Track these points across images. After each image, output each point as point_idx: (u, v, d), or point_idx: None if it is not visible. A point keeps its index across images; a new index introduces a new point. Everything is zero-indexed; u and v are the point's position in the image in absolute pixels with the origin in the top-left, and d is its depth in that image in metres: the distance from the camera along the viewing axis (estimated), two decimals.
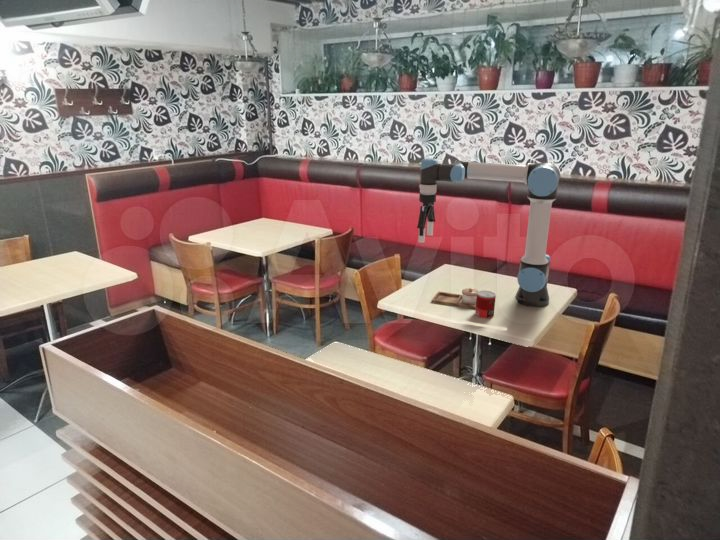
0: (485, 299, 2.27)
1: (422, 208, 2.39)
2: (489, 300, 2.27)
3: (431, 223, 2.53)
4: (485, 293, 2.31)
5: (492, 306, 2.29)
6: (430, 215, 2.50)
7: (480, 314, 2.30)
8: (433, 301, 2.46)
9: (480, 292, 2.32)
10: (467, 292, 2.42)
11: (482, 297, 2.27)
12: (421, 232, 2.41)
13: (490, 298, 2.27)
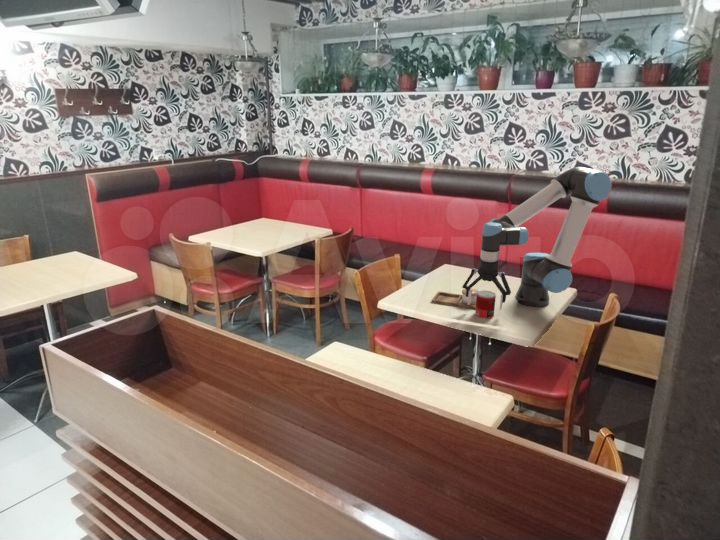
0: (485, 299, 2.27)
1: (472, 269, 2.30)
2: (489, 300, 2.27)
3: None
4: (485, 293, 2.31)
5: (492, 306, 2.29)
6: None
7: (480, 314, 2.30)
8: (433, 301, 2.46)
9: (480, 292, 2.32)
10: None
11: (482, 297, 2.27)
12: None
13: (490, 298, 2.27)
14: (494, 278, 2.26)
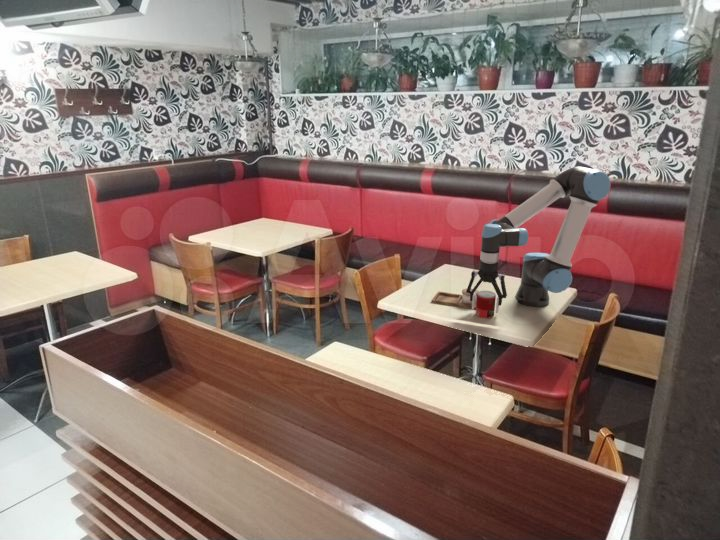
0: (485, 299, 2.27)
1: (472, 273, 2.30)
2: (489, 300, 2.27)
3: None
4: (485, 293, 2.31)
5: (492, 306, 2.29)
6: None
7: (480, 314, 2.30)
8: (433, 301, 2.46)
9: (480, 292, 2.32)
10: None
11: (482, 297, 2.27)
12: None
13: (490, 298, 2.27)
14: (493, 280, 2.26)
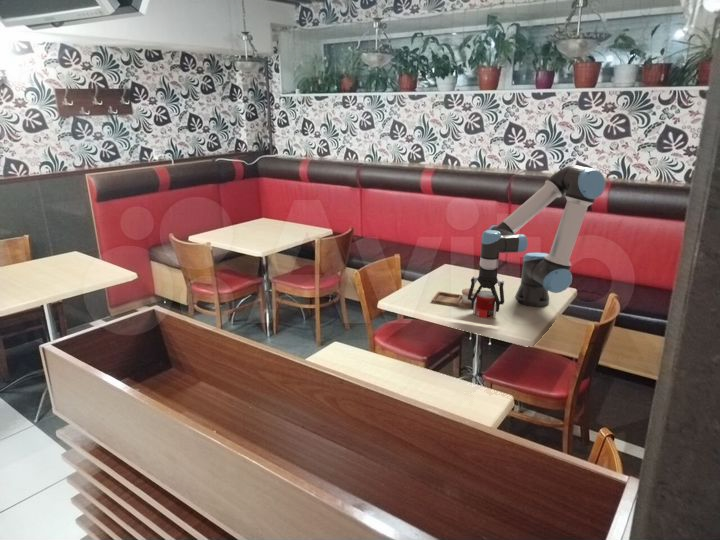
0: (485, 299, 2.27)
1: None
2: (489, 300, 2.27)
3: (494, 305, 2.30)
4: (485, 293, 2.31)
5: (492, 306, 2.29)
6: None
7: (480, 314, 2.30)
8: (433, 301, 2.46)
9: (480, 292, 2.32)
10: (467, 292, 2.42)
11: (482, 297, 2.27)
12: None
13: (490, 298, 2.27)
14: (492, 286, 2.27)
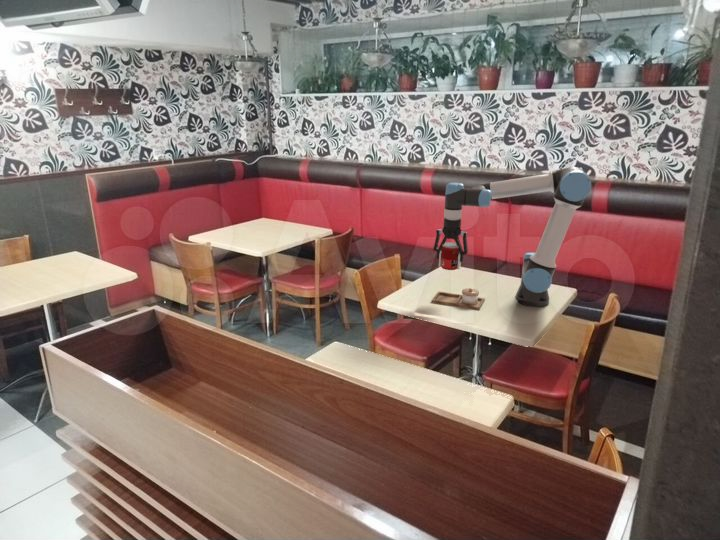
0: (449, 249, 2.38)
1: None
2: (453, 250, 2.38)
3: None
4: (450, 244, 2.42)
5: (456, 256, 2.39)
6: None
7: (445, 264, 2.41)
8: (433, 301, 2.46)
9: (445, 243, 2.43)
10: (467, 292, 2.42)
11: (446, 247, 2.38)
12: None
13: (454, 248, 2.37)
14: (456, 237, 2.38)
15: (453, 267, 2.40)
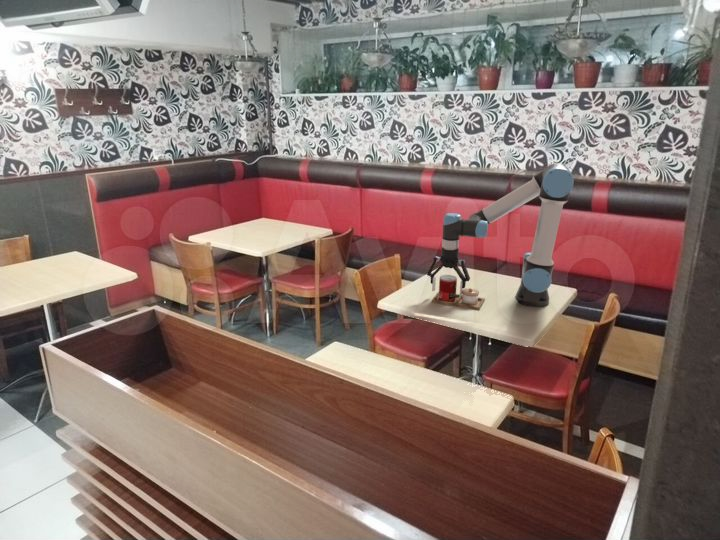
0: (446, 282, 2.43)
1: None
2: (450, 283, 2.43)
3: None
4: (447, 277, 2.47)
5: (453, 289, 2.44)
6: None
7: (443, 297, 2.46)
8: (433, 301, 2.46)
9: (443, 276, 2.48)
10: (467, 292, 2.42)
11: (444, 280, 2.43)
12: None
13: (451, 281, 2.43)
14: (455, 265, 2.42)
15: (450, 300, 2.45)
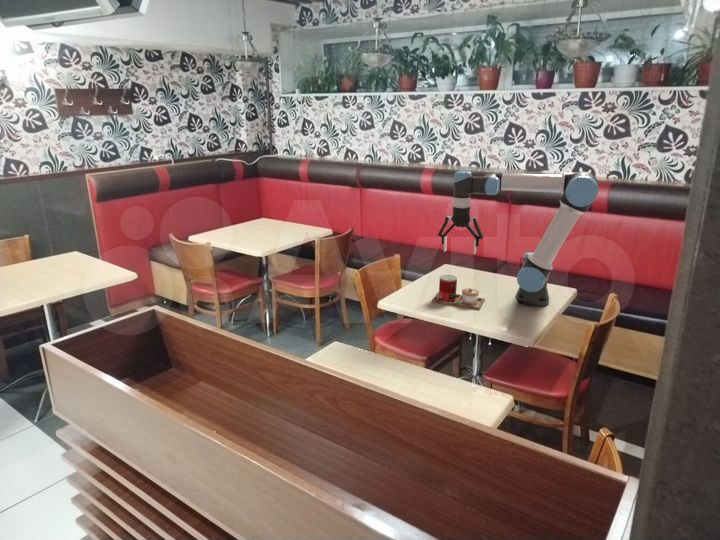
0: (446, 282, 2.43)
1: (446, 217, 2.43)
2: (450, 283, 2.43)
3: (474, 241, 2.41)
4: (447, 277, 2.47)
5: (453, 289, 2.44)
6: None
7: (443, 297, 2.46)
8: (433, 301, 2.46)
9: (443, 276, 2.48)
10: (467, 292, 2.42)
11: (444, 280, 2.43)
12: None
13: (451, 281, 2.43)
14: None
15: (450, 300, 2.45)
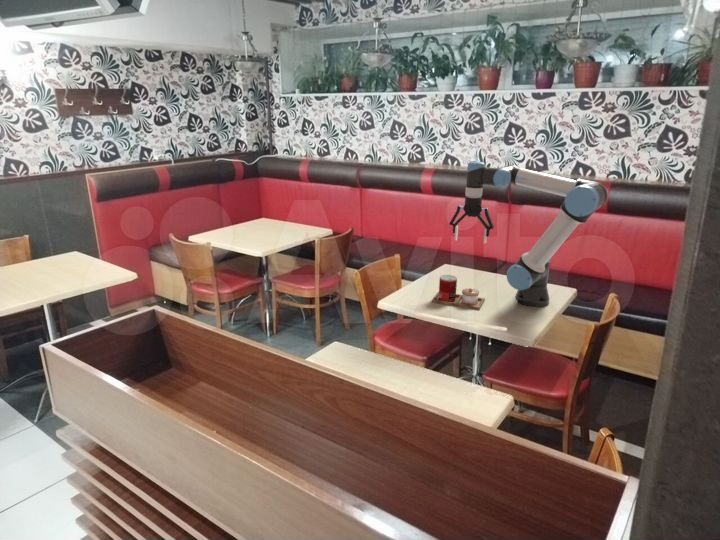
0: (446, 282, 2.43)
1: (458, 207, 2.48)
2: (450, 283, 2.43)
3: None
4: (447, 277, 2.47)
5: (453, 289, 2.44)
6: None
7: (443, 297, 2.46)
8: (433, 301, 2.46)
9: (443, 276, 2.48)
10: (467, 292, 2.42)
11: (444, 280, 2.43)
12: None
13: (451, 281, 2.43)
14: (478, 214, 2.44)
15: (450, 300, 2.45)
